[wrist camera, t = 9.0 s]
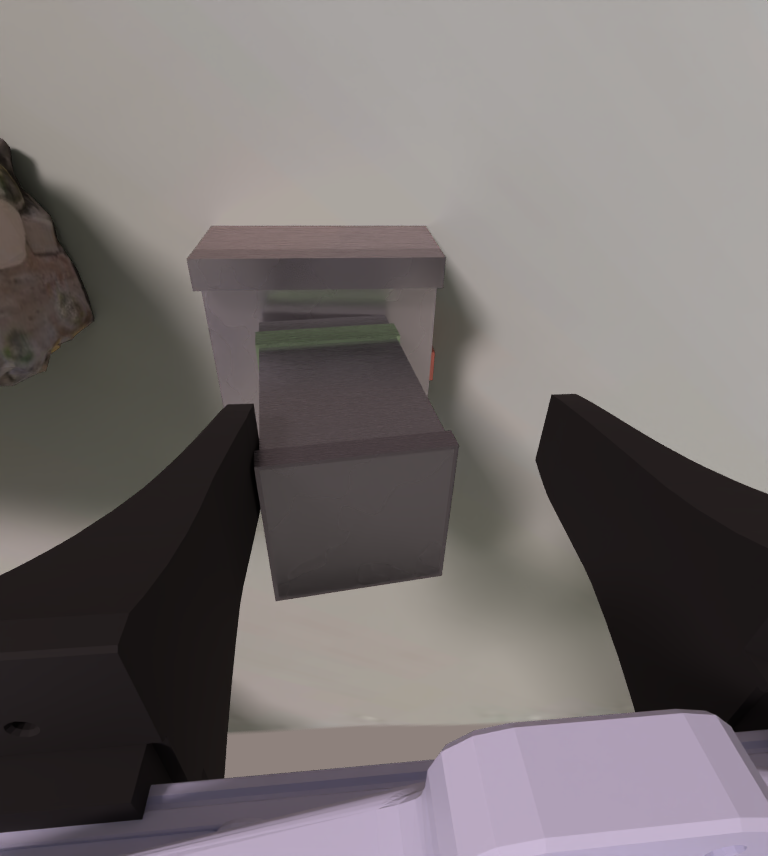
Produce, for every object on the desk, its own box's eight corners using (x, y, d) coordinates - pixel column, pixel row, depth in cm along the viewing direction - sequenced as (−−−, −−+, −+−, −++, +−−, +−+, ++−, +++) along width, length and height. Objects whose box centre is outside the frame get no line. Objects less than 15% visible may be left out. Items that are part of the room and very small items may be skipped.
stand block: (416, 420, 25) (429, 474, 21) (244, 426, 24) (231, 482, 21) (429, 225, 19) (450, 257, 16) (210, 226, 19) (186, 259, 15)
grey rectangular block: (384, 419, 21) (441, 575, 14) (270, 430, 20) (275, 601, 14) (387, 312, 18) (458, 444, 12) (255, 319, 17) (253, 467, 11)
